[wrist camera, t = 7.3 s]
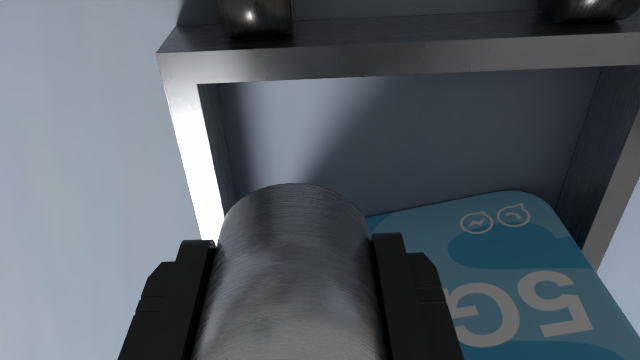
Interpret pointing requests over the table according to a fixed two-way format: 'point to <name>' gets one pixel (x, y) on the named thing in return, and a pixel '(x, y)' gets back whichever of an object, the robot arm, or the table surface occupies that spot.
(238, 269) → the metal cylinder
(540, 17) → the grey shallow tray
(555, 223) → the data package
